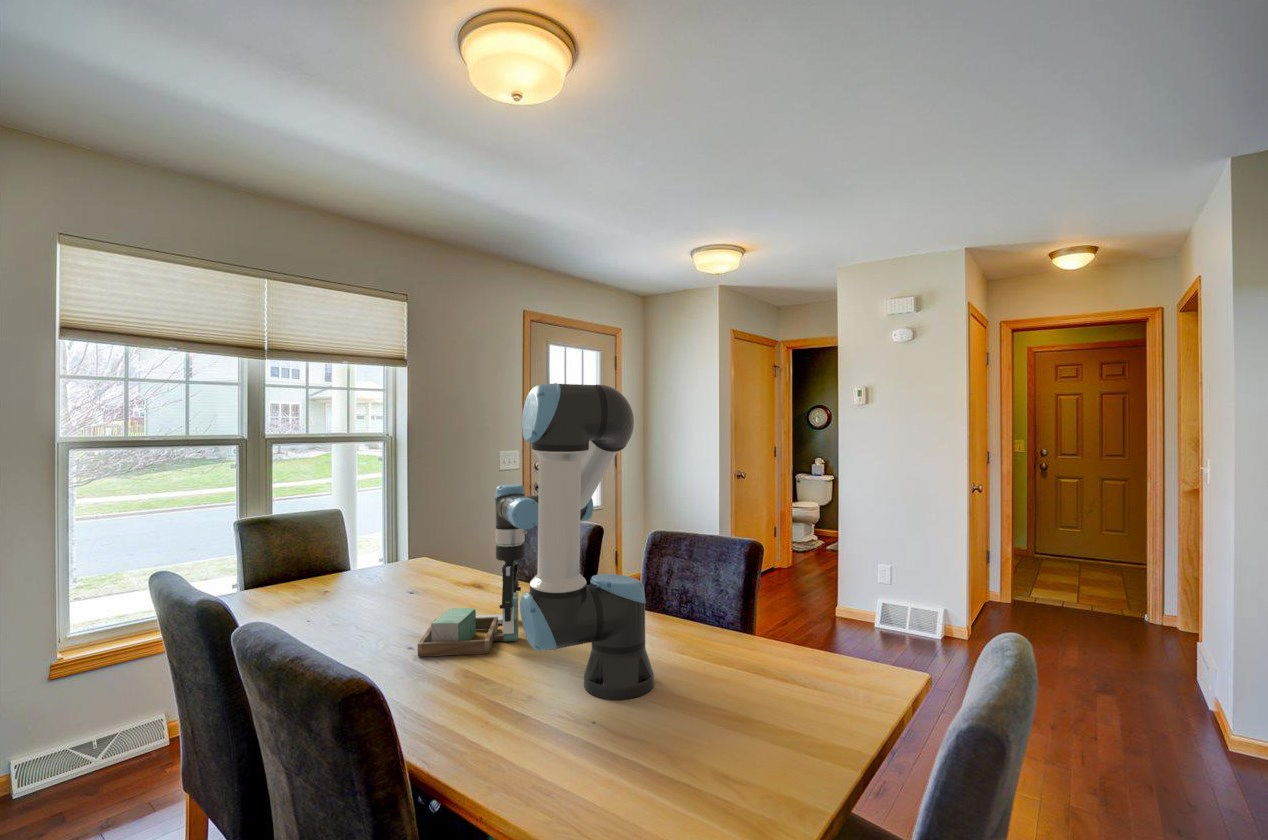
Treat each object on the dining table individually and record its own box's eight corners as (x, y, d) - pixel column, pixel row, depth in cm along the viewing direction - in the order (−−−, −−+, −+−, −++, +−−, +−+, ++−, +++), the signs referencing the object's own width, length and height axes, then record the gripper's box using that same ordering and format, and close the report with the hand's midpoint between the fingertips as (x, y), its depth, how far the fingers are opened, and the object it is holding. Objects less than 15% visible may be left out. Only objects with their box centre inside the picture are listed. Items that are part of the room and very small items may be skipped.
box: (476, 634, 164) (476, 606, 165) (459, 653, 151) (459, 623, 151) (450, 634, 165) (449, 606, 165) (430, 653, 151) (430, 623, 151)
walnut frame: (514, 651, 150) (514, 607, 150) (417, 656, 148) (417, 611, 148) (520, 626, 169) (520, 587, 169) (435, 630, 167) (434, 590, 167)
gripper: (520, 553, 148) (521, 640, 148) (528, 534, 173) (528, 609, 172) (489, 554, 147) (490, 641, 147) (501, 535, 172) (501, 610, 172)
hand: (510, 624), depth 160 cm, fingers open, 13 cm apart
